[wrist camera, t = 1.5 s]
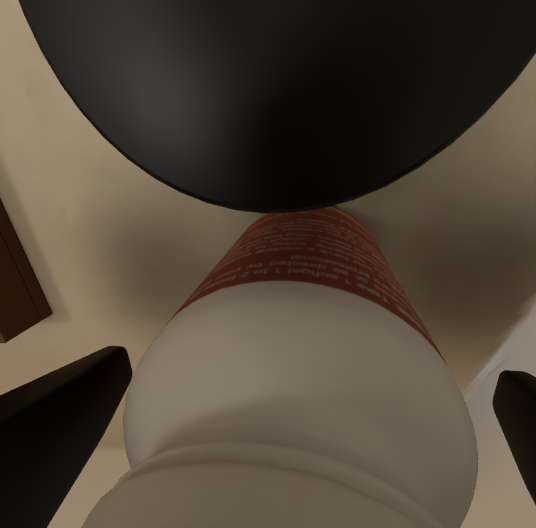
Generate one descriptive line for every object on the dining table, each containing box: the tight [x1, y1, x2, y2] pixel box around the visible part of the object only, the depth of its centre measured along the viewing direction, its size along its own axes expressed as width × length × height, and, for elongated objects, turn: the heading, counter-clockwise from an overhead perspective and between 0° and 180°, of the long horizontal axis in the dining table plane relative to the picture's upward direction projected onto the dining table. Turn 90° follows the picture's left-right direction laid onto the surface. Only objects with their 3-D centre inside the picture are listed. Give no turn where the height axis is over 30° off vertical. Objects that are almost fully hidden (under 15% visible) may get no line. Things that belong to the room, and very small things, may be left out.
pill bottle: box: [81, 207, 478, 528], centre depth 8 cm, size 6×6×11 cm
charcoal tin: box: [19, 0, 536, 213], centre depth 6 cm, size 6×6×8 cm
